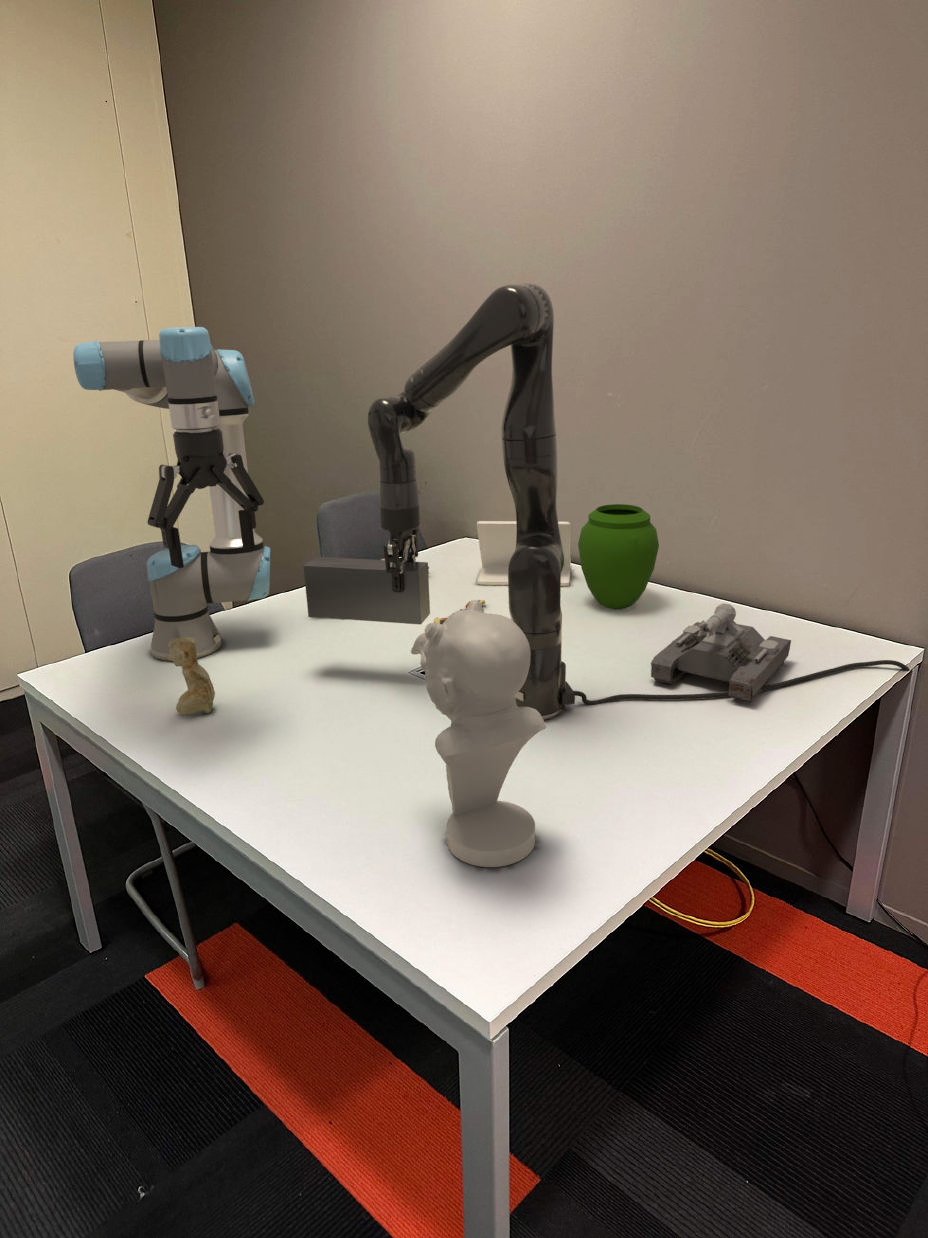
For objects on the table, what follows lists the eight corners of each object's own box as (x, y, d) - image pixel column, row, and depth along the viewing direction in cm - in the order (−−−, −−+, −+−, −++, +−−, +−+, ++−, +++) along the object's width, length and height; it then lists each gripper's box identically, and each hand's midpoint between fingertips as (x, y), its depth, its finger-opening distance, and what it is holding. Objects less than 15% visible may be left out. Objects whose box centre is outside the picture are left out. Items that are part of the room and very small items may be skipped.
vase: (599, 587, 227) (601, 497, 218) (668, 600, 216) (673, 505, 208) (562, 608, 212) (564, 513, 204) (634, 623, 202) (639, 523, 193)
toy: (696, 642, 189) (701, 578, 184) (789, 661, 178) (796, 594, 173) (649, 684, 170) (653, 613, 165) (749, 708, 159) (757, 633, 154)
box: (308, 616, 173) (303, 565, 169) (320, 606, 179) (315, 556, 175) (421, 624, 167) (418, 571, 164) (430, 613, 173) (427, 562, 169)
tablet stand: (569, 585, 229) (570, 524, 223) (476, 584, 232) (475, 523, 226) (570, 566, 246) (571, 508, 240) (484, 564, 249) (483, 507, 243)
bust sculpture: (481, 772, 140) (476, 569, 128) (565, 848, 120) (569, 617, 108) (392, 800, 134) (378, 588, 121) (465, 886, 114) (457, 642, 101)
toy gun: (430, 620, 200) (472, 617, 198) (447, 599, 218) (485, 596, 216) (432, 631, 201) (473, 628, 199) (448, 609, 219) (486, 606, 217)
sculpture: (181, 705, 167) (169, 634, 162) (218, 702, 168) (208, 632, 162) (175, 719, 162) (163, 646, 156) (213, 716, 162) (203, 643, 157)
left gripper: (134, 441, 125) (156, 579, 133) (275, 421, 142) (288, 544, 150) (110, 437, 130) (133, 570, 138) (250, 418, 147) (264, 537, 155)
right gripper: (406, 512, 156) (410, 599, 162) (428, 495, 169) (432, 576, 175) (367, 511, 158) (373, 597, 163) (392, 494, 171) (397, 574, 176)
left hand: (214, 557), depth 144 cm, fingers open, 13 cm apart
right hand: (404, 586), depth 169 cm, fingers closed on box, 6 cm apart
